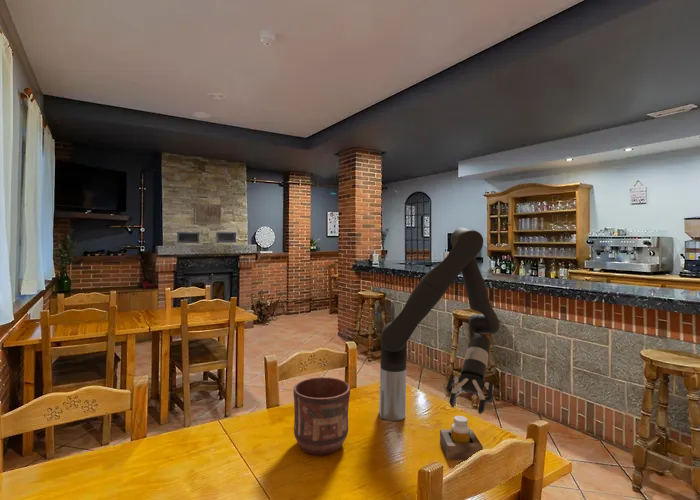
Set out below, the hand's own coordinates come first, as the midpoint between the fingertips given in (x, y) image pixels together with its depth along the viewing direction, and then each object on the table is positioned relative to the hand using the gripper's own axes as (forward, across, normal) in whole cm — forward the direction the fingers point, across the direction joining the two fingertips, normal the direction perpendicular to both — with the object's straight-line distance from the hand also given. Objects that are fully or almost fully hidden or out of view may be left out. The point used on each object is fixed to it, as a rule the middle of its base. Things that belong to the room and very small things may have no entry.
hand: (465, 409), depth 122 cm
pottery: (+26, -37, -11) cm, 46 cm away
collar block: (+12, 0, +3) cm, 12 cm away
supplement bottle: (+12, 0, +3) cm, 12 cm away
